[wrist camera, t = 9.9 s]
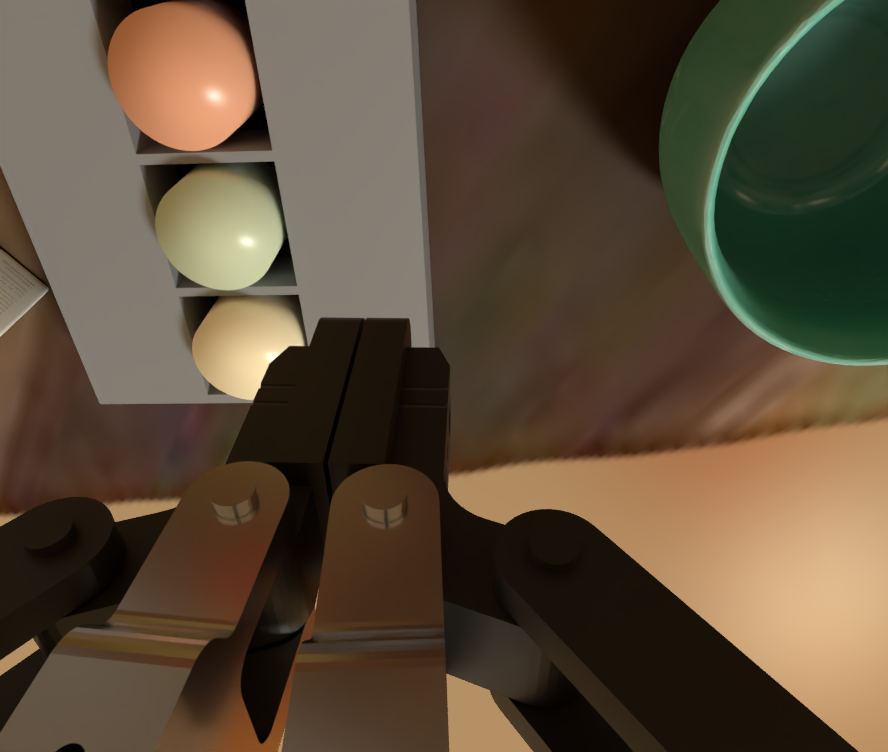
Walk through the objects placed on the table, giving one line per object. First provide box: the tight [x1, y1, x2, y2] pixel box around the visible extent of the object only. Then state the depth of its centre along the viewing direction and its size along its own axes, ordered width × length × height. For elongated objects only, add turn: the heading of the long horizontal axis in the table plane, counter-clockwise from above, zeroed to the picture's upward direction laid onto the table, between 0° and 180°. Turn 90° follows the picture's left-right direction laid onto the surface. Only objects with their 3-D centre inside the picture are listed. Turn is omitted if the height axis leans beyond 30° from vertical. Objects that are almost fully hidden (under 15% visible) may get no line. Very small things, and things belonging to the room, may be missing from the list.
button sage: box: [155, 162, 288, 290], centre depth 27 cm, size 5×5×4 cm
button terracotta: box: [108, 0, 263, 151], centre depth 24 cm, size 5×5×4 cm
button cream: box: [192, 295, 308, 400], centre depth 30 cm, size 5×5×4 cm
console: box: [0, 0, 435, 404], centre depth 28 cm, size 17×16×3 cm
